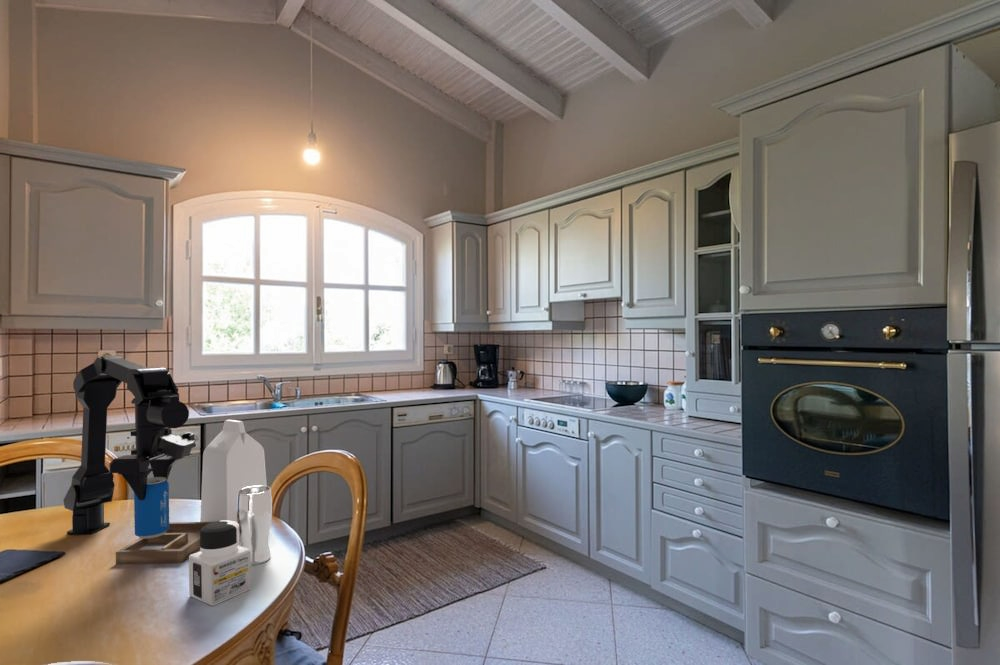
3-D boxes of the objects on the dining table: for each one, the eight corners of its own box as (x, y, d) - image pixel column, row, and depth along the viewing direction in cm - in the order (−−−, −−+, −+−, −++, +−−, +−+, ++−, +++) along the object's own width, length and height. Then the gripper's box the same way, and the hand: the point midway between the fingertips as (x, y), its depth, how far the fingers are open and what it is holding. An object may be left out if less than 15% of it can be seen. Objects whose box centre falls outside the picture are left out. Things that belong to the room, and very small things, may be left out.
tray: (166, 532, 134) (166, 521, 134) (223, 531, 134) (223, 520, 134) (115, 563, 116) (115, 550, 116) (182, 562, 116) (182, 549, 116)
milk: (269, 518, 144) (267, 419, 144) (227, 531, 134) (225, 426, 134) (242, 510, 151) (240, 416, 150) (200, 523, 141) (198, 422, 141)
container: (212, 607, 97) (211, 534, 97) (188, 596, 101) (187, 526, 101) (252, 589, 104) (251, 521, 104) (228, 580, 108) (227, 514, 108)
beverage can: (152, 540, 117) (151, 484, 117) (127, 539, 119) (126, 483, 119) (176, 530, 124) (175, 477, 124) (151, 528, 125) (151, 475, 125)
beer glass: (279, 555, 120) (278, 486, 120) (256, 568, 113) (255, 495, 113) (254, 551, 122) (253, 484, 122) (229, 564, 116) (228, 493, 116)
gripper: (161, 431, 112) (162, 508, 112) (209, 417, 131) (210, 483, 131) (106, 432, 112) (108, 509, 112) (162, 418, 130) (163, 483, 130)
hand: (151, 495), depth 121 cm, fingers closed on beverage can, 6 cm apart
